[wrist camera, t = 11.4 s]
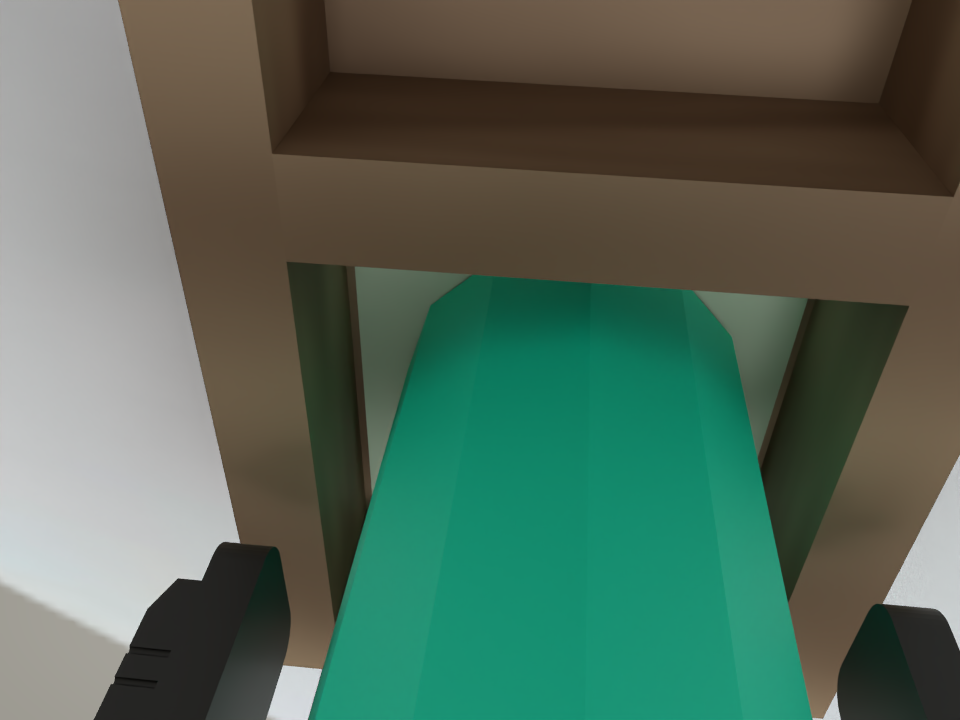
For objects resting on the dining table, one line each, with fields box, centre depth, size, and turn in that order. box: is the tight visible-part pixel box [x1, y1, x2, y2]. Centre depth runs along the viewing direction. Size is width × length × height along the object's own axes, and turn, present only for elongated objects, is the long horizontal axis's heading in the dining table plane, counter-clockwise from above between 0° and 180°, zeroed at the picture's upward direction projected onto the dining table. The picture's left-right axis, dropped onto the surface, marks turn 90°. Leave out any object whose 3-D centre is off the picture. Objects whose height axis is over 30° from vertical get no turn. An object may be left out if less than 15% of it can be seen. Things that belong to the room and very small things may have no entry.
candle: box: [308, 275, 813, 720], centre depth 11 cm, size 6×6×12 cm
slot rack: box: [118, 0, 960, 719], centre depth 12 cm, size 20×11×4 cm, turn 178°
